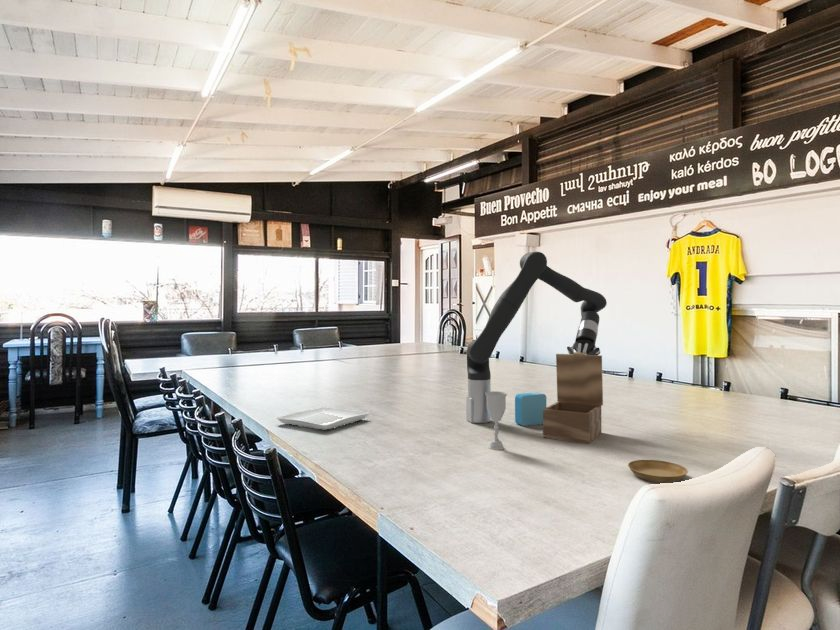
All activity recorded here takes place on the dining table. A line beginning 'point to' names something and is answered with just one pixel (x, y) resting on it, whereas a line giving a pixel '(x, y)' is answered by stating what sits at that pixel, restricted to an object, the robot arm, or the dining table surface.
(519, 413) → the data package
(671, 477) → the plant saucer
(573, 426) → the walnut box
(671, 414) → the dining table surface
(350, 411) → the square plate
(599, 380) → the walnut lid
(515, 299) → the robot arm
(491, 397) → the chalice
